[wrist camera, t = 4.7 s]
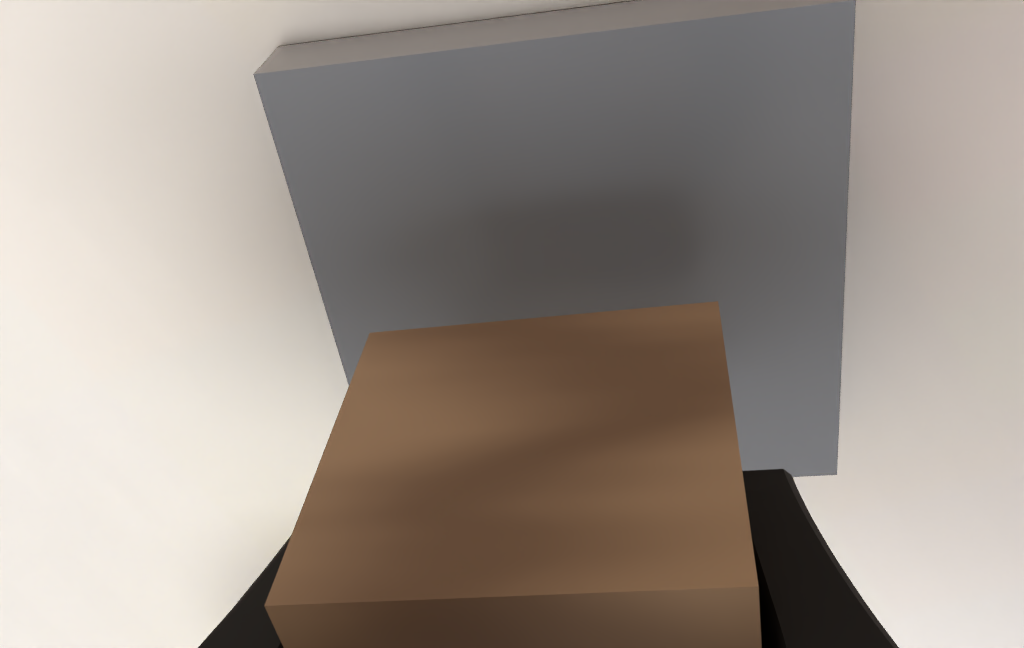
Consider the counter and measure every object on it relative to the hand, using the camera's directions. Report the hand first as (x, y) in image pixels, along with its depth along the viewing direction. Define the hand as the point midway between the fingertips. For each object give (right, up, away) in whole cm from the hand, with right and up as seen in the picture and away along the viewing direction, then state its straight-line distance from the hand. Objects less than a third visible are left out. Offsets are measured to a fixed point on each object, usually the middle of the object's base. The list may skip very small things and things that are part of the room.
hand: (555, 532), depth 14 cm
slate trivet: (+1, +4, +6) cm, 8 cm away
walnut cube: (0, +1, +1) cm, 2 cm away
